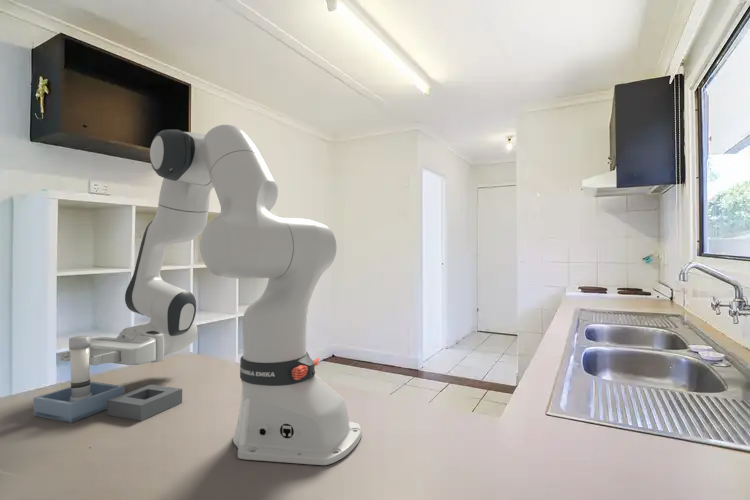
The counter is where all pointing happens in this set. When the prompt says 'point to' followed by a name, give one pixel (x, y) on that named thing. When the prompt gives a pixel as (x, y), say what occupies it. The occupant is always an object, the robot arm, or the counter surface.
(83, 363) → the fuse
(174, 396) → the block
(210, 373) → the counter surface
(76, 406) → the parts tray
